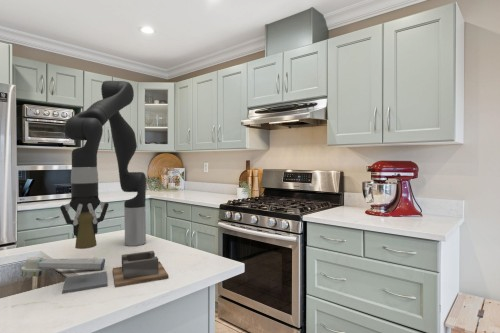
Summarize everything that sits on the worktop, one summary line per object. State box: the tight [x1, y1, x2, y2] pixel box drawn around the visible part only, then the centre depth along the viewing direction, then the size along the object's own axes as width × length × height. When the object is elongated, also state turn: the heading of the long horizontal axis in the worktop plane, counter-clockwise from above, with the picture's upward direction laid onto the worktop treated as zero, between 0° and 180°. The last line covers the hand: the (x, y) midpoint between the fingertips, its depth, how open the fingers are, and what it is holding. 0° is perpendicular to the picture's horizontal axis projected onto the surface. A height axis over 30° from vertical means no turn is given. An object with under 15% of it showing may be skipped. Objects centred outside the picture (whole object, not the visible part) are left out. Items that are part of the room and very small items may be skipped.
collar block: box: [112, 250, 169, 288], centre depth 106 cm, size 16×16×6 cm
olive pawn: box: [74, 212, 98, 250], centre depth 98 cm, size 6×6×11 cm
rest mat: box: [61, 271, 109, 294], centre depth 99 cm, size 12×12×1 cm
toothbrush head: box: [20, 256, 106, 279], centre depth 108 cm, size 5×7×25 cm
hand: (85, 235), depth 99 cm, fingers closed on olive pawn, 4 cm apart
